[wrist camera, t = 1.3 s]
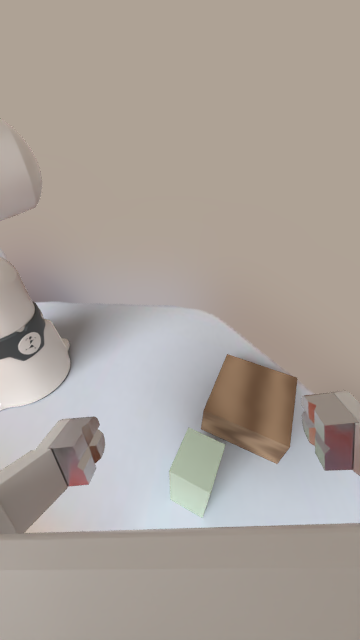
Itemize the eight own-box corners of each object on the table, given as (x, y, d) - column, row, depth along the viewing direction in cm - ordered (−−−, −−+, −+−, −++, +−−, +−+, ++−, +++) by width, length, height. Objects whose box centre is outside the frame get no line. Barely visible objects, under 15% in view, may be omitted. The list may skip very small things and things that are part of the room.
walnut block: (200, 429, 39) (203, 410, 35) (222, 374, 47) (227, 354, 43) (277, 463, 35) (289, 447, 31) (286, 397, 43) (297, 377, 39)
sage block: (170, 499, 32) (169, 471, 24) (185, 462, 35) (188, 427, 28) (202, 518, 30) (210, 493, 23) (214, 477, 34) (225, 444, 27)
